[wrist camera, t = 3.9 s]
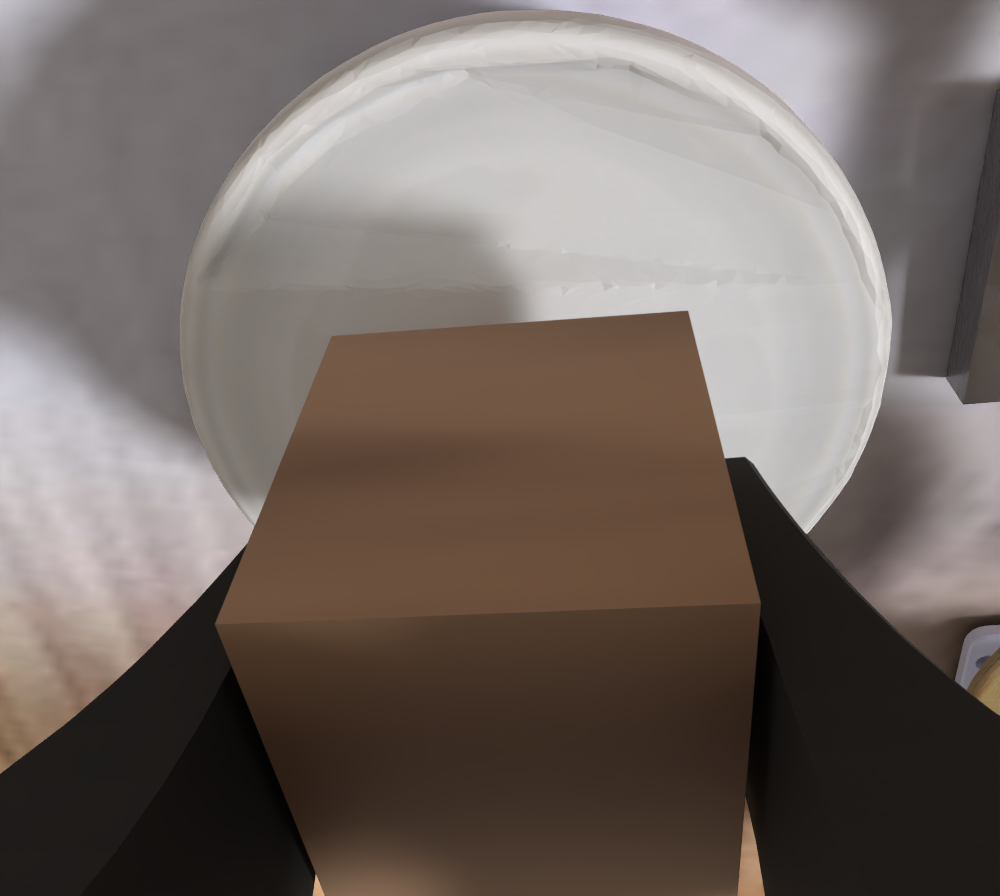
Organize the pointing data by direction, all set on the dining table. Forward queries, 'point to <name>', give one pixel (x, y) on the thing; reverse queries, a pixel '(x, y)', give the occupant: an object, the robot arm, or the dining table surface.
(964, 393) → the balance
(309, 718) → the block
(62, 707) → the dining table surface
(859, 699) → the robot arm
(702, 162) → the ramekin
